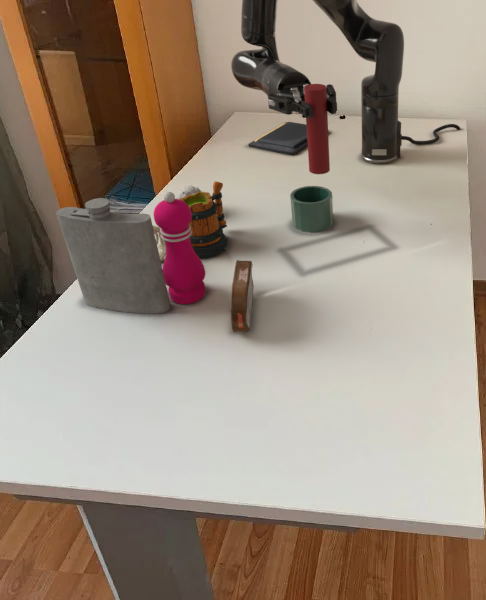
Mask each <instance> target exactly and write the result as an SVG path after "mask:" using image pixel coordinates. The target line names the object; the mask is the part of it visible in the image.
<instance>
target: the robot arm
mask: <svg viewBox="0 0 486 600" xmlns="http://www.w3.org/2000/svg"><path fill="white" fill-rule="evenodd" d="M312 2H313V3H314V4H315V5H316V6H317V7H318V8H319V9H320V10H321V11H322V12H323V14H325V15H326V16H327V18H329V20H330V21H331V22H332V23H333V24H334V25H335V26H336V27H337V28H338V29H339V31H340V32H341V33H342V34H343V36H344V38H345V39H346V40H347V42H348V43H349V45H350V46H351V48H352V49H353V50H354V52H355V53H356V54H357V55H358V57H360V58H361V59H363V60H365V61H368V62H371V63H375V70H374V73H373V74H371V75H367V76H365V77H364V78H363V79H362V80H361V84H360V85H361V86H360V87H361V88H360V89H361V91H360V93H361V95H360V97H361V100H360V102H361V160H362V161H364V162H365V163H366V162H367V163H369V164H375V165H385V164H390V163H393V162H395V161H396V160H397V159H401V148H402V141H408V142H410V143H411V145H420V146H421V145H430V144H435V143H437V142H439V140H440V135H439V134H438V133H439V132H441V131H442V130H445V129H449V128H453V129H456V130H457V131H461V130H462V128H461V127H460V126H459V125H458V124H455V123H447V124H444V125H441V126H438V127H437V128H435V129H434V130H433V131H432V136H434V138H432V139H429V140H415V139H413V138H412V137H411V136H406V135H403V134H402V122H401V121H400V120H399V99H400V98H399V95H400V93H399V92H400V84H401V80H402V77H403V67H404V55H405V37H404V36H405V35H404V32H403V29H402V28H401V26H400V25H398V24H397V23H395V22H390V21H384V20H379V19H376V18H373V17H372V16H370V15H369V14H368V13H367V12H366V11H365V10H364V9H363V8H362V7H361V6H360V5H359V3H358V1H357V0H312ZM277 12H278V0H242V1H241V21H240V22H241V25H240V28H241V29H240V31H241V32H240V33H241V37H242V40H244V41H245V42H246V43H247V44H249V45H252V46H256V47H260V48H259V49H257V48H256V49H246V50H245V49H244V50H240V51H238V52H236V53H235V54H234V56H233V57H232V59H231V64H230V67H231V73H232V75H233V77H234V78H235V80H236V82H238V83H239V84H240V85H241V86H243V87H245V88H249V89H252V90H255V91H256V90H257V91H261V92H263V93H264V94H265V95H266V96H267V101H268V102H267V104H268V109H270V110H273V111H275V112H278V113H281V114H284V115H288V116H290V115H293V113H295V114H296V115H301V116H303V117H305V118H306V117H307V118H313V108H312V106H311V105H310V104H308V103H307V102H305V94H304V87H305V86H306V85H309V84H312V83H311V81H310V79H309V78H308V77H307V75H305V74H304V73H302V72H301V71H299V70H297V69H295V68H294V67H292V66H291V65H288V64H285V63H283V62H282V61H281V59H280V55H279V51H278V45H277V37H276V29H277V28H276V27H277V14H278V13H277ZM325 86H326V91H327V113H329V114H331V115H335V114H337V112H338V102H337V92H336V89H335V86H334V85H333V84H330V83H329V84H326V85H325Z"/></svg>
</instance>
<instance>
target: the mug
mask: <svg viewBox="0 0 486 600" xmlns="http://www.w3.org/2000/svg"><path fill="white" fill-rule="evenodd" d="M223 187H224V184H223V182H220V181H215V180H214V182H213V184H212V195H211V193H210V192H206V191H202V190H201V191H199V192H197V193H195V194H191V195H188V196H185V197H183V198H180V200H182V201H184V202H185V203H186V204H187V205H188V206H189V208H190V210H191V213H192V219H191V221H190V223H189V225H190V226H191V231H192V234H191V236H190V242H191V245H192V247H193V250H194V251H195V253H196V254H197V256H198V257H199V258H200V260H206V259H212V258H214V257H217V256H219V255H221V254H223V253H225V251H226V248H227V247H228V243H229V240H228V238H227V237H226V235H225V233H224V230H223V229H225V228H228V225H227V221H226V219H225V218H226V217H225V214H224V213H223V210H224V208H223V200H222V198H223V193H222V192H221V191H222V188H223Z"/></svg>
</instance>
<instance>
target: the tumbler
mask: <svg viewBox="0 0 486 600" xmlns="http://www.w3.org/2000/svg"><path fill="white" fill-rule="evenodd" d="M289 197H290V208H291V221H292V226H293V227H294V229H295V230H298V231H299V232H304V233H319V232H323V231H326V230H328V229H330V228H332V226H333V224H334V207H333V206H334V205H333V192H332V191H331V190H330V189H329V188H326V187H324V186H319V185H318V186H317V185H306V186H301V187H297V188H296V189H294V190H292V191H291V193H290V195H289Z"/></svg>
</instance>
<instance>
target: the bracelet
mask: <svg viewBox="0 0 486 600" xmlns="http://www.w3.org/2000/svg"><path fill="white" fill-rule="evenodd" d="M152 226H153V230H154V234H155V239H156V243H157V248H158V250H161V251H159V256H160V261H161V262H162V261H163V260H164V259H165V257H166V244H165V240H163V239H162V238H161V233H160V227H158V226H157V225H153V224H152ZM159 243H160V244H159Z"/></svg>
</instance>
